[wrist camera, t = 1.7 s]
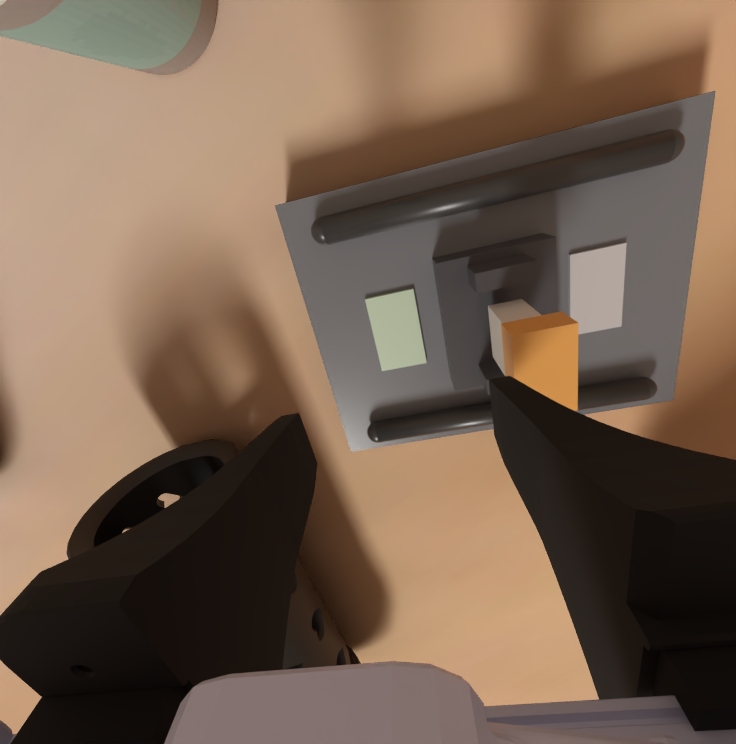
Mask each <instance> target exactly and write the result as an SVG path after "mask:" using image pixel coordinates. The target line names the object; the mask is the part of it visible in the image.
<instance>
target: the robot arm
mask: <svg viewBox="0 0 736 744" xmlns="http://www.w3.org/2000/svg"><path fill="white" fill-rule="evenodd" d="M489 388H490V397H491V407H492V416H493V426H494V435H495V438H496V441H497V444H498V447H499V450H500V453H501V456H502V459H503V461H504V464H505V466H506V468H507V470H508V472H509V474H510V476H511V478H512V480H513V482H514V484H515V486H516V488H517V490H518V492H519V494H520V496H521V498H522V500H523V502H524V504H525V506H526V508H527V510H528V512H529V514H530V516H531V518H532V520H533V522H534V524H535V526H536V528H537V530H538V532H539V535H540V537H541V539H542V541H543V544H544V546H545V549H546V552H547V554H548V557H549V559H550V562H551V565H552V567H553V570H554V573H555V575H556V578H557V581H558V583H559V586H560V589H561V591H562V594H563V597H564V600H565V602H566V605H567V608H568V610H569V613H570V616H571V619H572V622H573V624H574V627H575V630H576V633H577V636H578V639H579V642H580V644H581V647H582V650H583V653H584V656H585V659H586V661H587V664H588V667H589V670H590V673H591V676H592V679H593V682H594V685H595V688H596V691H597V694H598V697H599V700H586V701H569V702H552V703H535V704H518V705H501V706H484V703H483V702H482V701H481V699H480V698H479V697H478V695H477V694H476V693H475V691H474V690H473V689H472V687H471V686H470V685H469V683H468V682H466V681H465V680H464V679H463V678H462V677H461V676H458V675H456V674H453V673H451V672H449V671H446V670H444V669H441V668H439V667H437V666H434V665H432V664H424V663H410V662H396V661H390V662H377V663H364V664H351V665H338V666H325V667H313V668H300V669H287V670H282V669H283V658H284V648H285V638H286V630H287V622H288V614H289V606H290V599H291V592H292V585H293V578H294V572H295V567H296V562H297V557H298V553H299V549H300V545H301V541H302V537H303V533H304V530H305V526H306V522H307V518H308V514H309V510H310V506H311V502H312V498H313V494H314V488H315V480H316V470H317V461H316V459H315V456H314V453H313V450H312V448H311V445H310V442H309V439H308V437H307V434H306V431H305V428H304V426H303V423H302V420H301V417H300V415H299V413H297V414H291V415H285V416H281V417H279V418H278V419H277V420H275V421H274V422H273V423H272V424H271V425H270V426H268V427H267V428H266V429H265V430H264V431H263V432H262V433H261V434H260V435H258V436H257V437H256V438H255V439H254V440H253V441H252V442H251V443H250V444H249V445H247V446H246V447H245V448H244V449H243V450H242V451H241V452H240V453H239V454H237V455H236V456H235V457H234V458H233V459H231V460H230V461H229V462H228V463H227V464H225V465H224V466H223V467H222V468H221V469H220V470H218V471H217V472H216V473H215V474H214V475H212V476H211V477H210V478H208V479H207V480H206V481H204V482H203V483H202V484H200V485H199V486H198V487H196V488H195V489H193V490H192V491H191V492H189V493H188V494H186V495H185V496H184V497H182V498H181V499H179V500H178V501H176V502H174V503H173V504H171V505H170V506H168V507H166V508H165V509H163V510H161V511H160V512H158V513H157V514H155V515H153V516H152V517H150V518H149V519H147V520H145V521H144V522H142V523H140V524H138V525H136V526H135V527H133V528H131V529H129V530H127V531H126V532H124V533H122V534H120V535H118V536H116V537H114V538H112V539H110V540H108V541H106V542H104V543H102V544H100V545H98V546H96V547H94V548H92V549H90V550H88V551H86V552H84V553H81V554H79V555H77V556H75V557H73V558H71V559H68V560H66V561H64V562H62V563H60V564H57V565H55V566H53V567H51V568H48V569H46V570H44V571H42V572H40V573H39V574H38V575H37V576H36V577H35V578H34V579H33V580H32V581H31V582H30V583H29V585H28V586H27V587H26V588H25V589H24V590H23V591H22V592H21V593H20V595H19V596H18V597H17V598H16V599H15V600H14V601H13V602H12V603H11V604H10V606H9V607H8V608H7V609H6V610H5V611H4V612H3V613H2V614H1V615H0V660H1V661H2V662H3V663H4V664H5V665H6V666H7V667H8V668H9V669H11V670H12V671H13V672H14V673H15V674H16V675H17V676H19V677H20V678H21V679H22V680H23V681H24V682H25V683H27V684H28V685H29V686H30V687H31V688H32V689H33V690H34V691H36V692H37V693H38V694H39V695H40V696H42V698H41V699H40V701H39V702H38V704H37V705H36V707H35V708H34V710H33V711H32V713H31V714H30V716H29V717H28V719H27V720H26V722H25V723H24V724H23V726H22V727H21V729H20V730H19V732H18V733H17V734H12V730H11V729H10V728H9V727H8V726H7V725H6V724H5V723H3V722H2V721H1V720H0V744H736V460H733V459H728V458H724V457H719V456H714V455H710V454H705V453H700V452H696V451H692V450H688V449H684V448H680V447H675V446H672V445H668V444H665V443H661V442H658V441H654V440H651V439H647V438H644V437H640V436H637V435H634V434H631V433H628V432H625V431H622V430H620V429H617V428H614V427H612V426H609V425H606V424H604V423H601V422H598V421H596V420H594V419H591V418H589V417H587V416H585V415H582V414H580V413H578V412H576V411H574V410H572V409H569V408H567V407H565V406H563V405H561V404H559V403H557V402H556V401H554V400H552V399H550V398H548V397H546V396H544V395H543V394H541V393H539V392H537V391H536V390H534V389H532V388H530V387H529V386H527V385H525V384H524V383H522V382H520V381H518V380H517V379H515V378H513V377H511V376H505V377H500V378H494V379H489Z"/></svg>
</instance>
